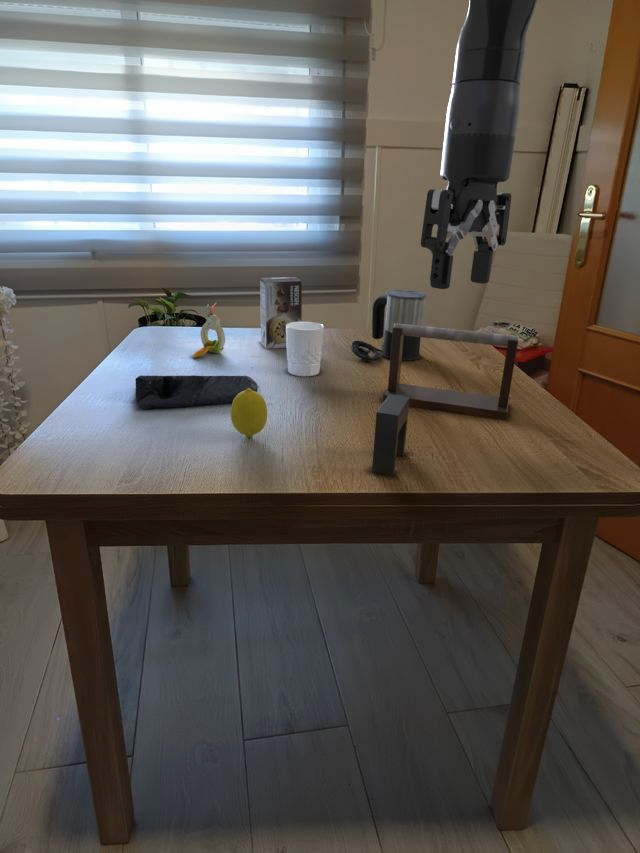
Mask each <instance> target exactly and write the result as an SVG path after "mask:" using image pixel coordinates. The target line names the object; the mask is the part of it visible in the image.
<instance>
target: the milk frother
mask: <svg viewBox="0 0 640 853" xmlns="http://www.w3.org/2000/svg"><path fill="white" fill-rule="evenodd" d="M427 297H428V295H427V294H426V293H424V292H421V291H415V290H405V289H394V290H388V291H386V294H384V295H379V296H378V297H376V298H375V300H374V301H373V304H372V319H371V327H372V328H371V337H372V339H374V340H381V339H383V343H382V346H381V349H382V350H381V349H379V348H377V347H375V346H373V345H372V344H370V343H369V342H368V343H367V342H365V341H362V340H354V341H352V342H351V344H350V350H351V352H352V354H354V356H356V357H358V358H360V359H361V361H370V362H374V361H377V360H380V354H381V356H382V357H384V358H386V359H390V356H391V344H392V332H393V327H394V324H395V323H398V324H407V325H417V326H423V321H424V314H425V313H424V312H425V304H426V298H427ZM421 338H422V337H414V336H405V335H404V339H403V350H402V361H416V360H418V359H420V358H421V354H420V348H421ZM370 353H373V355H372V354H370Z"/></svg>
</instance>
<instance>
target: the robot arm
mask: <svg viewBox="0 0 640 853" xmlns="http://www.w3.org/2000/svg"><path fill="white" fill-rule="evenodd" d="M537 3H538V0H469V3H468V8H467V9H468V11H467V13H466V17H465V19H464V21H463V24H462V26H461V27H460V31H459V34H458V37H457V43H456V48H455V57H454V66H453V74H452V82H451V83H452V86H451V92H450V95H449V100H448V104H447V109H446V118H445V126H444V137H443V145H442V154H441V164H440V172H439V173H440V178H441V179H442V180H444V181H448V183H447V186H446V189H435V188H434V189H432V188H430V189H429V190H428V191H427V193H426V200H425V207H424V214H423V223H422V229H421V237H420V246H421V248H423V249H424V248H425V249H428V250H429V252H430V253H431V255H432V256H431V257H432V259H431V268H430V277H429V278H430V280H429V285H430V287H431V288H433V289H439V290H446V289H449V288H450V286H451V280H452V269H453V262H454V255H453V253H454V252H455V250H456V248H457V246H458V244H459V242H460V241H461V240H463V239H465V237H467V234H468V235H469V236H471V237H472V240H473V244H474V248H475V250H474V251H473V255H472V256H473V257H472V265H471V270H470V281H471V283H476V284H482V285H483V284H487V283H489V281H490V278H491V269H492V263H493V257H494V255H493V254H494V252H496V251H497V250H498V247H499V246H505V245H506V242H507V236H508V230H509V229H508V228H509V220H510V212H511V206H512V205H511V204H512V194H511V193H510V192H498V184H499V183H504V182H507V181H508V180H509V179H510V175H511V169H512V163H513V162H512V161H513V155H514V147H515V142H516V136H517V128H518V123H519V122H518V121H519V115H520V103H521V102H520V99H521V98H520V97H521V95H520V94H521V84H522V77H523V71H524V65H525V59H526V58H525V57H526V51H527V40H528V37H527V36H528V32H529V29H530V25H531V22H532V19H533V15H534V13H535V9H536V7H537ZM434 226H435V228H434V229H435V232H436V233H435V235H434V236H432V235H433V227H434ZM497 232H498V234H497ZM447 239H448V240H447Z"/></svg>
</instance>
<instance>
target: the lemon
mask: <svg viewBox="0 0 640 853" xmlns="http://www.w3.org/2000/svg"><path fill="white" fill-rule="evenodd" d="M230 419H231V423H232V425H233V427H234V428H235V430H236V431H237V432H238V433H240V434H241V435H245V437H246V438H249V439H250V438H252V437H254V435H257V434H259V433H260V432H262V430H263V429H265V426H266V423H267V420H268V408H267V403H266V400H265V399H264V396H262V394H260V393H259V392H258V391H257V392H256V391H253V390H251V389H250V388H248V389H246V390H245V391H242V392H240V393H239V394H238V395H237V396H236V397H235V398H234V400H233V403H231V408H230Z"/></svg>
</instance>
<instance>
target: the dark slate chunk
mask: <svg viewBox="0 0 640 853" xmlns="http://www.w3.org/2000/svg"><path fill="white" fill-rule="evenodd" d="M134 380H135V400H136V402H137V406H138V407H139V408H142V409H146V410H150V409H155V408H157V409H158V408H165V409H168V408H172V409H173V408H174V409H175V408H189V407H192V406H208V405H211V406H212V405H215V404H216V405H220V404H230V403H231V404H232V403H233V400H234V398H235V397H236V396H237V395H238V394H239V393H240V392H242V391H245V390H246V389H248V388H250V389H251V390H253V391H256V392H257V393H258V389H259V385H258V383H257V382H256V381H255V380H254V379H253V378H252V377H251V376H248V375H197V374H195V375H192V374H191V375H180V374H179V375H142V374H141V375H138V376H137V377H136V378H135V379H134Z"/></svg>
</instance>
